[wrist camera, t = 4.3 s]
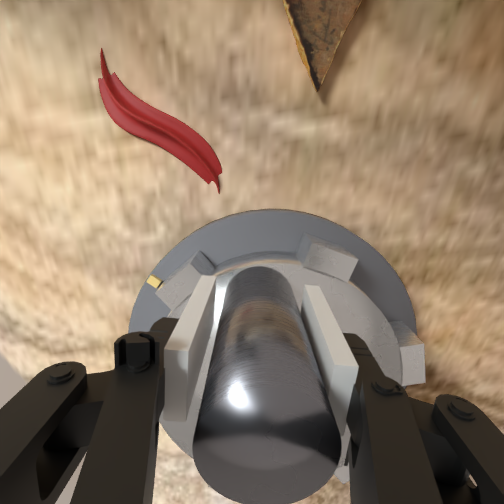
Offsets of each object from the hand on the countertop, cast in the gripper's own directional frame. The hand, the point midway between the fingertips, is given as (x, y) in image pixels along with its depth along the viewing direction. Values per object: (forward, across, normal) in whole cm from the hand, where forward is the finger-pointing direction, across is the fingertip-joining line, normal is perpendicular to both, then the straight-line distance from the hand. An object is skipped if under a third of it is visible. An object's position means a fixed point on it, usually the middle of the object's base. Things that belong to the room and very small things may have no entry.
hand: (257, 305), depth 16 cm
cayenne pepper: (+8, -7, +9) cm, 14 cm away
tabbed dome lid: (+5, +2, -6) cm, 8 cm away
